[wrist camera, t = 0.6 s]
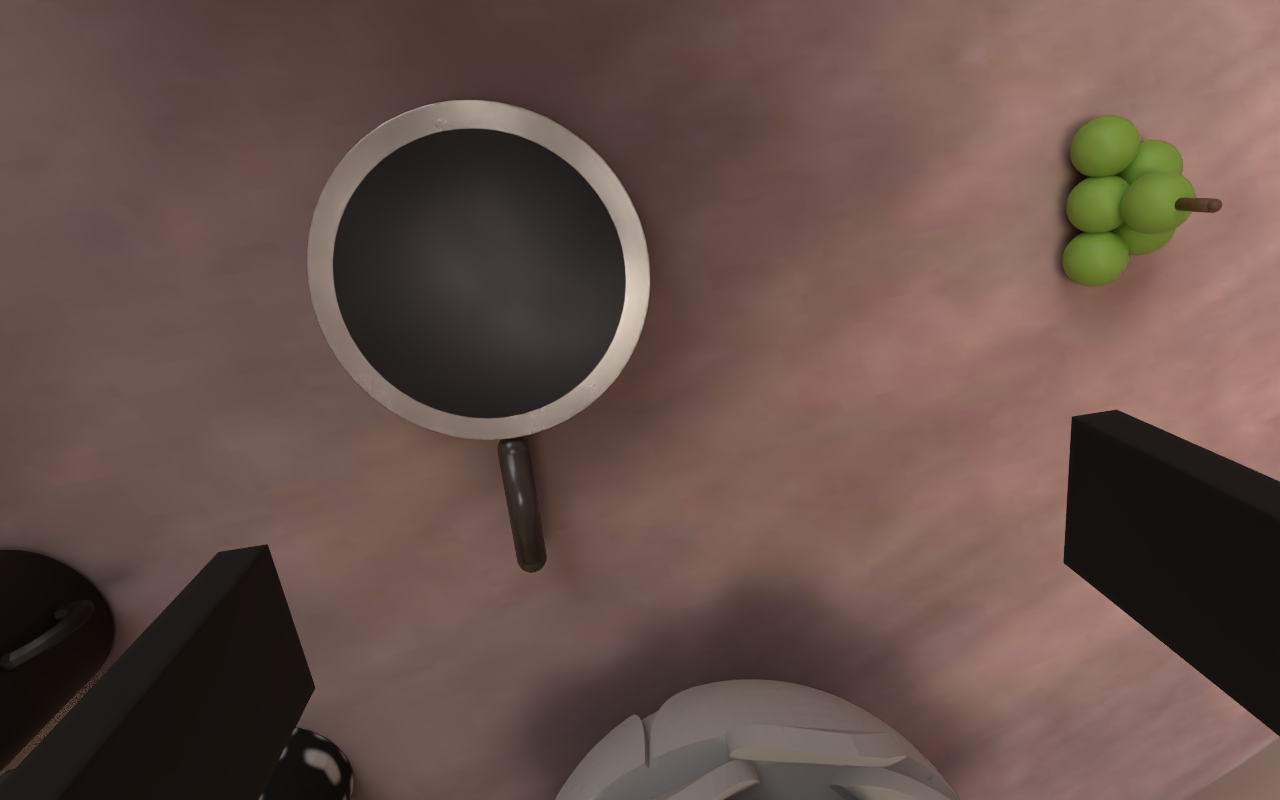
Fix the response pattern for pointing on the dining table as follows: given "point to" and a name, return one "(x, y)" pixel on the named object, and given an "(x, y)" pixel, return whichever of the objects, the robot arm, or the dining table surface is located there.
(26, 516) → the dining table surface
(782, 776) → the decorative bowl
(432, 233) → the pan
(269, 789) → the spotted tube
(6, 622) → the mug
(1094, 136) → the grapes
